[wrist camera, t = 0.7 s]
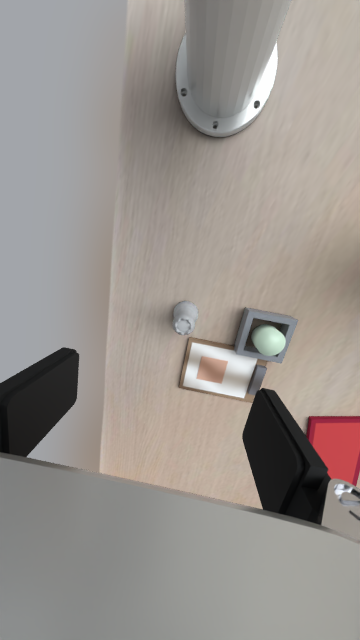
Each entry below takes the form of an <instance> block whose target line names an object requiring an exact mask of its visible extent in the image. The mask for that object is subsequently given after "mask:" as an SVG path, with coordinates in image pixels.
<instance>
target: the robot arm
mask: <svg viewBox="0 0 360 640" xmlns="http://www.w3.org/2000/svg"><path fill="white" fill-rule="evenodd" d="M184 3H185V27H186V33H185V35H184V37H183V39H182V42H181V45H180V48H179V51H178V56H177V61H176V74H175V76H176V88H177V94H178V99H179V102H180V105H181V109H182V110H183V112H184V114H185V116H186V118H187V119H188V120H189V122H190V123H191V124H192V125H193V126H194V127H195V128H196V129H198V130H199V131H200V132H202V133H204V134H206V135H210V136H214V137H225V136H229V135H233V134H235V133H238V132H240V131H242V130H243V129H244V128H246V127H247V126H249V125H250V124H251V123H252V122H253V121H254V120H255V119H256V118H257V116H258V115H259V113H260V112H261V111H262V109H263V108H264V106H265V104H266V102H267V100H268V98H269V95H270V93H271V90H272V88H273V85H274V81H275V77H276V73H277V64H278V50H277V42H276V41H277V39H278V36H279V33H280V30H281V28H282V25H283V22H284V20H285V17H286V14H287V11H288V9H289V6H290V3H291V0H184ZM183 96H185V97H183ZM255 108H256V109H255ZM214 127H215V128H216V129H214ZM78 367H79V354H78V353H77V352H76V350H74V349H69V348H61V349H60V350H58V351H56V352H54V353H53V354H51V355H49V356H47V357H45V358H44V359H42V360H40V361H39V362H37V363H35V364H33V365H31V366H30V367H28V368H26V369H24V370H23V371H21V372H19V373H17V374H16V375H14V376H12V377H10V378H9V379H7V380H5V381H4V382H2V383H0V640H360V489H359V488H357V487H356V486H354V485H352V484H350V483H349V482H346V481H344V480H341V479H331V478H330V476H329V475H328V473H327V472H328V470H329V469H328V468H327V466H326V465H325V463H324V462H323V460H322V459H321V458H320V456H319V455H318V453H317V452H316V450H315V449H314V447H313V446H312V444H311V443H310V442H309V440H308V439H307V437H306V436H305V434H304V433H303V431H302V430H301V428H300V427H299V426H298V424H297V423H296V421H295V420H294V418H293V417H292V415H291V414H290V412H289V411H288V409H287V408H286V407H285V405H284V404H283V402H282V401H281V399H280V398H279V396H278V395H277V393H276V392H275V391H274V390H269V389H265V388H262V389H261V390H258V391H257V392H256V395H255V398H254V401H253V404H252V407H251V410H250V413H249V416H248V419H247V422H246V425H245V428H244V431H243V443H244V446H245V449H246V453H247V456H248V460H249V463H250V467H251V470H252V473H253V477H254V480H255V484H256V487H257V490H258V494H259V497H260V501H261V504H262V507H263V510H262V509H258V508H254V507H250V506H246V505H241V504H237V503H233V502H228V501H224V500H219V499H215V498H210V497H206V496H202V495H197V494H193V493H188V492H184V491H179V490H175V489H170V488H166V487H161V486H157V485H152V484H148V483H143V482H139V481H134V480H130V479H125V478H120V477H116V476H111V475H107V474H102V473H97V472H93V471H88V470H83V469H78V468H74V467H69V466H65V465H60V464H55V463H50V462H46V461H41V460H36V459H31V458H27V455H28V454H29V453H30V452H31V451H32V450H33V449H34V448H35V447H36V446H37V444H38V443H39V442H40V441H41V440H42V439H43V438H44V437H45V436H46V434H47V433H48V432H49V431H50V430H51V429H52V428H53V427H54V426H55V425H56V423H57V422H58V421H59V420H60V419H61V418H62V417H63V416H64V415H65V414H66V413H67V411H68V410H69V409H70V408H71V407H72V406H73V405H74V403H75V401H76V399H77V385H78V384H77V383H78Z"/></svg>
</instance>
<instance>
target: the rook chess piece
mask: <svg viewBox="0 0 360 640" xmlns="http://www.w3.org/2000/svg"><path fill="white" fill-rule="evenodd" d="M173 316H174V320H173V329H174V330H175V331H176V333H178V334H180V335H188V334H190V333H191V332H192V331H193V330H194V327H195V322H196V320H197V318H198V309H197V307H196V306H195V305H194V304H193V303H191V302H189V301H183V302H180V303H179V304H177V305H176V307H175V308H174V314H173Z"/></svg>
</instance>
